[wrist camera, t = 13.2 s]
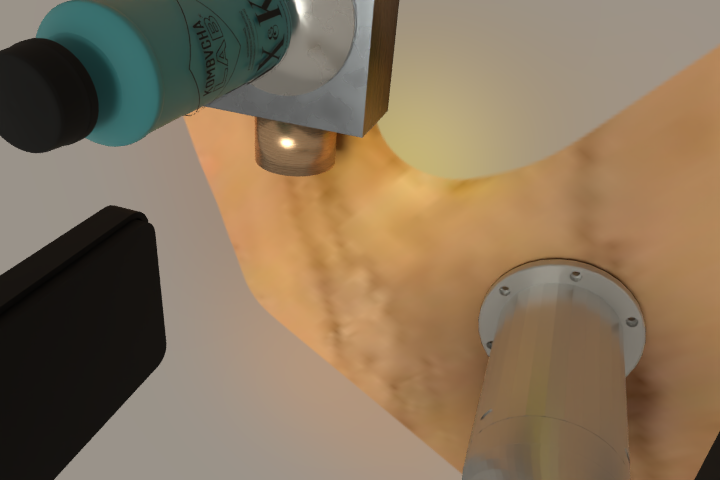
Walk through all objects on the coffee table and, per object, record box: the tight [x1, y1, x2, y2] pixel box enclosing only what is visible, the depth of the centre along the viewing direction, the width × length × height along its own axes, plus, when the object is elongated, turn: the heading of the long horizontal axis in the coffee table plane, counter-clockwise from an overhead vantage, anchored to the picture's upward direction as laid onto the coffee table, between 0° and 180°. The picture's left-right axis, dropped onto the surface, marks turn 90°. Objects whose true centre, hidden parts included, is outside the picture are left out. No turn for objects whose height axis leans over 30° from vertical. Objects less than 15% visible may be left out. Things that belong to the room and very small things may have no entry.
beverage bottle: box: [0, 0, 292, 153], centre depth 32 cm, size 6×7×20 cm
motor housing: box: [204, 0, 399, 176], centre depth 43 cm, size 18×12×6 cm, turn 176°
